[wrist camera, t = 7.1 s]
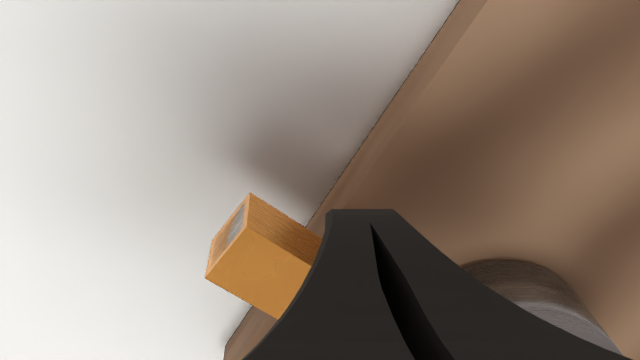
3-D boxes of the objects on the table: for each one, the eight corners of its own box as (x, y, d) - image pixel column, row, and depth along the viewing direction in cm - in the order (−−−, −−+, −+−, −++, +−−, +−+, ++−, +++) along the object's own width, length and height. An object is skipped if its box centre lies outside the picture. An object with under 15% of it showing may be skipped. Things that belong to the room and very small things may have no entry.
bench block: (908, 187, 22) (964, 212, 20) (573, 489, 28) (593, 529, 27) (531, -106, 17) (561, -106, 15) (225, 346, 23) (220, 383, 21)
